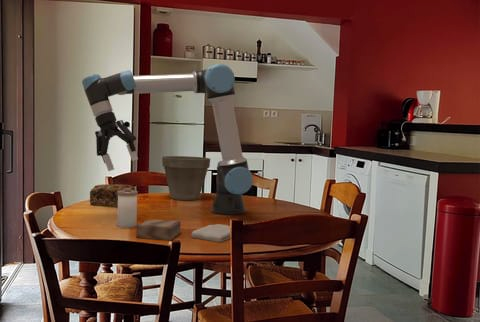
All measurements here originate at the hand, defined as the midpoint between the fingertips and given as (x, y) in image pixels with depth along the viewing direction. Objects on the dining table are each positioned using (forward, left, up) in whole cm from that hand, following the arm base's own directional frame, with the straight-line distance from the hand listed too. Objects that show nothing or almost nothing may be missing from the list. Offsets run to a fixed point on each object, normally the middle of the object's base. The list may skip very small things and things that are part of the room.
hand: (123, 165), depth 185 cm
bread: (+17, -31, -22) cm, 42 cm away
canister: (-5, +8, -22) cm, 24 cm away
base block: (-21, +19, -22) cm, 36 cm away
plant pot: (-9, -63, -22) cm, 67 cm away
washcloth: (-41, +13, -23) cm, 49 cm away
